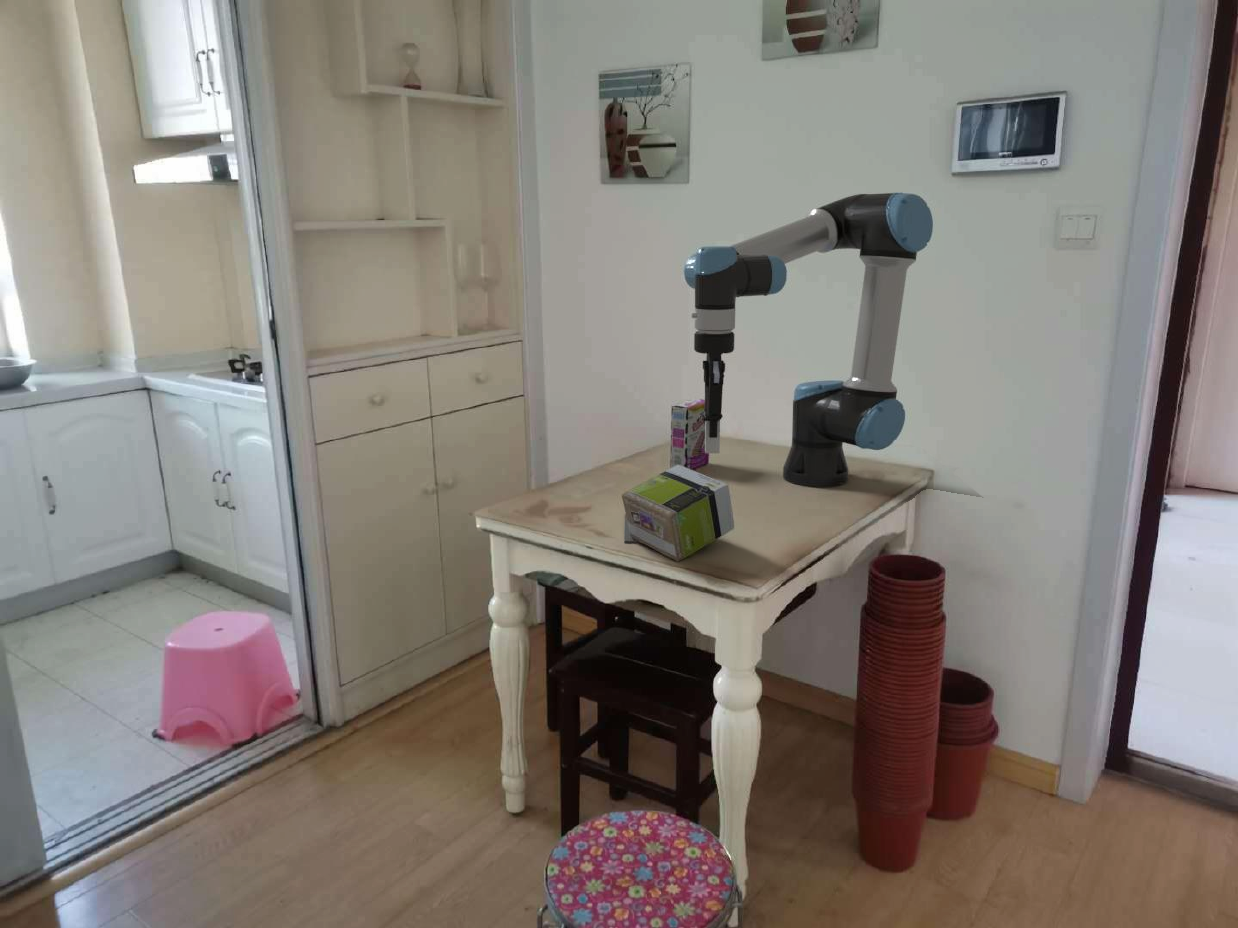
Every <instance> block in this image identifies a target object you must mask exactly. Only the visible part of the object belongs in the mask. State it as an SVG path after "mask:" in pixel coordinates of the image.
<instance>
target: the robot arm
mask: <svg viewBox="0 0 1238 928" xmlns="http://www.w3.org/2000/svg"><path fill="white" fill-rule="evenodd" d="M932 215H933V214H932V212H931V208H930V207H928V204H927V201H925V200H924V198H922V197H921V196H920V195H918V194H916V193H915V194H914V193H909V192H907V193H905V192H904V193H903V192H889V193H888V192H887V193H886V192H885V193H859V194H854V195H853V194H852V195H850V196H847V197H843V198H841V199H838V200H835V201H832V202H830V203H828V204H825V205H822V206H820V207H817V208H814V209H812V210H810V211H809V212H808V213H807V214H806V216H805V217H804V218H801V219H798V220H795V221H794V222H793V221H792V222H791V223H788V224H785V225H783V226H780V227H778V228H774V229H772V230H770V231H766V232H763V233H761V234H758V235H756V236H753V237H751V238H748V239H746V240H743V241H741V242H740V241H739V242H737V243H735V244H732V245H729V246H725V245H721V246H720V245H719V246H716V245H715V246H714V245H713V246H701V247H699V248H698V249H697V251H696V253H694V254H692V255H691V256H689V258H688V259H687V260H686V262H685V265H684V269H683V274H684V280H685V282H686V284H687V285H688V287H690V288H692V289H694V308H695V309H694V311H695V312H693V313H691V319H695V320H694V328H695V330H697V331H695V333H694V334H693V335H694V336H693V337H694V338H693V339H694V340H693V343H694V345H693V349H694V352H696V353H699V354H703V355H705V354H706V360H702V369H703V383H704V400H705V408H704V411H705V413H706V414H705V416H706V417H703V421H705V453H709V454H720V444H721V443H720V441H721V440H720V439H721V438H720V437H721V434H720V433H721V420H722V418H723V414H722V409H723V407H722V404H723V390H724V389H723V386H724V378H725V372H726V362H725V361H724V360H722V355H723V354H731V353H732V352H734V351H735V333H734V330H735V329H736V299H737V298H740V297H753V296H754V297H755V296H756V297H758V296H759V297H760V296H764V297H767V296H769V295H775V294H777V293H779V292H781V291H782V290H783V289H784V287H785V286H786V283H787V272H788V271H787V266H786V264H788V263H790V262H793V261H796V260H797V259H798V260H799V259H801V258H803V257H806V256H808V255H811V254H812V253H816V252H818V253H821V254H825V253H829V252H831V251H835V250H842V249H843V250H845V249H853V250H859V256H858V257H859V259H860V260H861V262H862V263H863V264H864V266H865V268H864V275H863V282H862V290H861V299H860V306H859V313H858V320H857V328H856V334H855V335H856V336H855V343H854V349H853V358H852V365H851V373H850V377H849V378H848V379H847V380H846V381H844V380H817V381H807V382H803V383H799V384H797V386H796V387H795V389H794V393H793V400H792V429H791V431H792V433H791V434H792V436H791V445H790V446H791V447H790V449H789V452H788V454H787V458H786V459H785V462H784V465H783V469H782V478H783V479H784V480H786V481H788V482H789V483H792V484H795V485H801V486H807V487H817V488H818V487H834V486H840V485H844V484H845V483H847V482H848V480H849V474H850V473H849V472H850V471H849V466H848V464H847V461H846V456H845V452H844V449H843V444H848V445H850V446H851V445H852V446H854V447H855V446H856V447H858V448H860V449H864V450H865V449H867V450H873V451H880V450H881V451H882V450H883V449H886V448H888V447H890V446H891V445H892V444H893V443H894V442H895V441H896V440H897V439H898V437H899V436H900V434H901V433H902V431H903V428H904V425H905V421H906V410H905V409H904V405H903V403H902V402H901V401H899V399H897V393H898V388H897V387H896V386H895V384H893V382H892V378H893V370H894V363H895V356H896V350H897V342H898V335H899V330H900V329H899V328H900V320H901V313H902V307H903V306H902V305H903V300H904V293H905V287H906V279H907V272H908V269H909V268H910V267H911V266H912V265H913V264H914V263H915V262H917V255H918V252H920V251H922V250H924V249H925V248H926V247H927V246H928V243H929V242H930V241H931V239H932V234H933V230H934V229H933V228H934V224H933V223H934V221H933V216H932Z"/></svg>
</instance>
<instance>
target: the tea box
mask: <svg viewBox="0 0 1238 928" xmlns="http://www.w3.org/2000/svg"><path fill="white" fill-rule="evenodd" d="M621 499H622V503H623V506H624V511H625V514H626V517H627V522H628V526H629V531H630V537H632V538H634V539H635V540H637V541H639V542H641V543H640V544H643V545H646V546H647V547H650V548H652V549H653V550H654V551H657V552H658V553H661V554H663V555H664V556H666V557H668V558H669V559H672V560H674V561H676V562H680V561H682V560H684V559H686V558H687V557H689V556H691V555H692V554H694V553H695V552H697V551H699V550H701V549H702V548H704V547H705V546H707V545H709V544H711V543H713V542H714V541H716V540H717V539H719V538H721V537H723V536H724V535H726V534H728V533H729V532H731V531H733V530H734V529H735V522H734V521H735V520H734V515H733V507H732V500H731V494H730V487H729V484H727V483H724V482H722V481H721V480H717V479H715V478H713V477H709V476H707V475H705V474H703V473H700V472H698V471H695V470H691V469H688V468H686V467H683V466H681V465H676V466H674V467H672V468H669V469H666V470H665V471H663V472H661V473H660V474H657V475H655V476H653V477H651V478H650V479H647V480H646V481H643V482H642V483H640V484H638V485H636V486H634V487H633V488H631V489H628V490H627V491H625V492H624V493H621Z"/></svg>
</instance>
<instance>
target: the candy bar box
mask: <svg viewBox="0 0 1238 928" xmlns="http://www.w3.org/2000/svg"><path fill="white" fill-rule="evenodd" d="M704 408H705V399H702V398H701V399H699V398H693V399H692V398H691V399H690V400H686V401H681V402H678V403H676V404H672V405H671V410H670V411H671V412H670V413H671V415H670V416H671V418H670V423H671V424H670V461H669V463H670V464H669V465H670V466H669V467H670V468H672V467H674V466H676V465H681V466H683V467H686V468H688V469H691V470H693V471H695V470H696V469H700V468H701V467H703V466H706V465H709V463H710V462H709V459H710V453H705V421H703V417H706V416H705V414H706V413H705V411H704ZM670 468H669V469H670Z"/></svg>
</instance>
